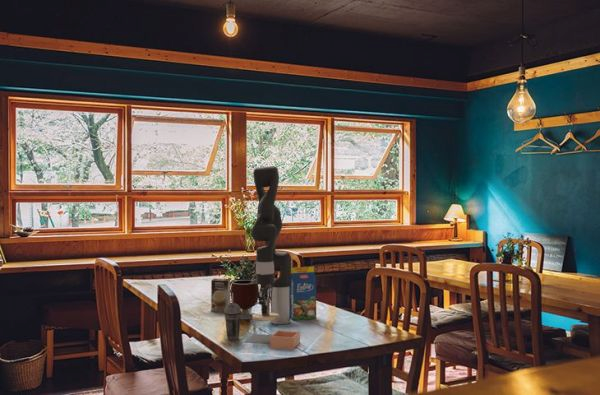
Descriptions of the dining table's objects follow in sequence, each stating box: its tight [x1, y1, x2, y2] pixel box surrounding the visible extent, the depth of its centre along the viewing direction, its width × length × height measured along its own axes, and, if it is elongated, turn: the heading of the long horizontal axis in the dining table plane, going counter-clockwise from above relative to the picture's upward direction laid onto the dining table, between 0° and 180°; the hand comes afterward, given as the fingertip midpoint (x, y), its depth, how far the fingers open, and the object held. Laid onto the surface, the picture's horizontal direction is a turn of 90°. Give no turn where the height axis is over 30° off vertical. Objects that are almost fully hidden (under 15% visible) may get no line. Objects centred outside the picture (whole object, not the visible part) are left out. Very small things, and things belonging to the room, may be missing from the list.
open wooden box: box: [269, 330, 301, 350], centre depth 239 cm, size 10×10×5 cm
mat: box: [243, 333, 272, 345], centre depth 249 cm, size 14×14×1 cm
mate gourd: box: [230, 278, 260, 320], centre depth 294 cm, size 16×14×20 cm
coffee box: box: [210, 278, 231, 312], centre depth 309 cm, size 9×6×16 cm
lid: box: [252, 300, 279, 322], centre depth 248 cm, size 11×11×7 cm
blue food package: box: [290, 266, 317, 321], centre depth 290 cm, size 6×12×25 cm, turn 111°
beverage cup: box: [223, 293, 242, 341], centre depth 249 cm, size 7×7×20 cm
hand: (265, 312), depth 248 cm, fingers closed on lid, 3 cm apart
